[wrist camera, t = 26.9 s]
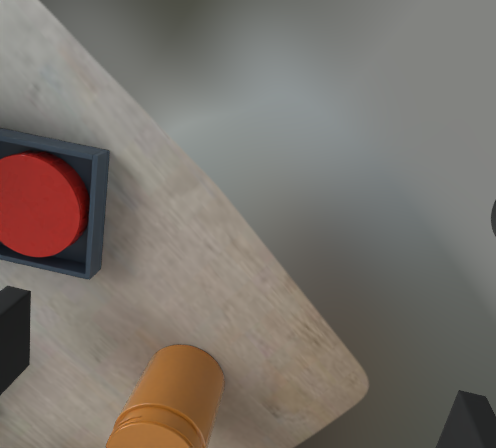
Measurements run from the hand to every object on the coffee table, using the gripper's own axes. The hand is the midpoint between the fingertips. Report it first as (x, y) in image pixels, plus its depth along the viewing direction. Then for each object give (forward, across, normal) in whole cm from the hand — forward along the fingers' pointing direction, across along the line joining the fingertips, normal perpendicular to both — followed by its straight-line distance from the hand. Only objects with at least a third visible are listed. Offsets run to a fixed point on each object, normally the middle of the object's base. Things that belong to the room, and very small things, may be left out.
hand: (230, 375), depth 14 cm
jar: (+29, -6, -24) cm, 38 cm away
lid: (+26, -22, -8) cm, 35 cm away
